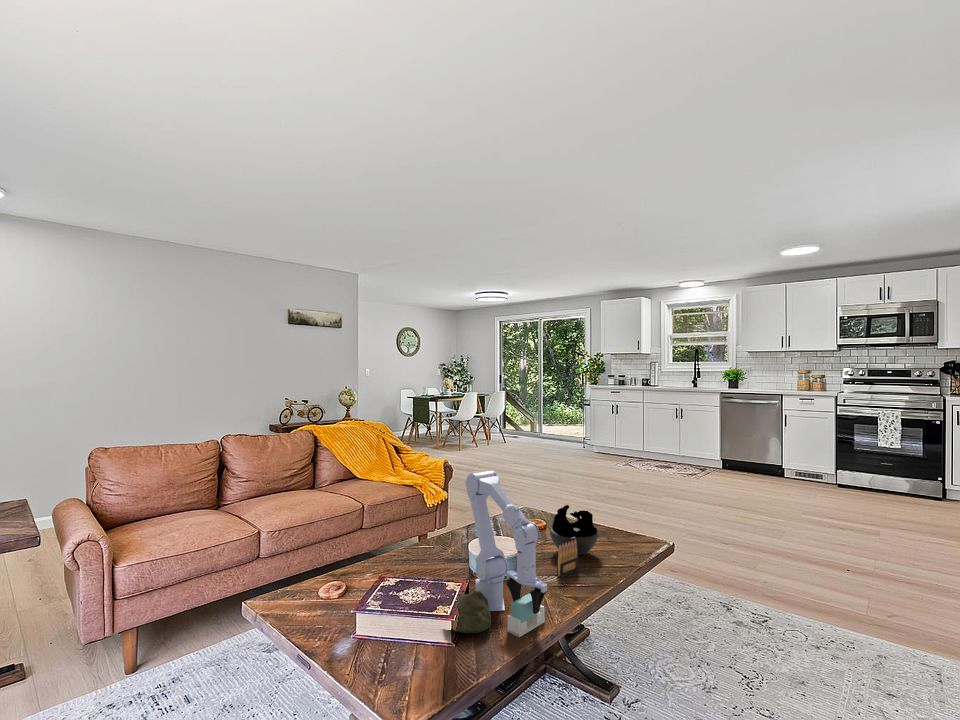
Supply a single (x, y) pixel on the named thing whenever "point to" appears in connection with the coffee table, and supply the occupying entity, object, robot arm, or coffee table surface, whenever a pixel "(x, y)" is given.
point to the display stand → (525, 623)
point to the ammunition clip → (567, 559)
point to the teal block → (522, 608)
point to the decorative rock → (473, 613)
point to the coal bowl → (574, 530)
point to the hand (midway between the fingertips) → (526, 608)
